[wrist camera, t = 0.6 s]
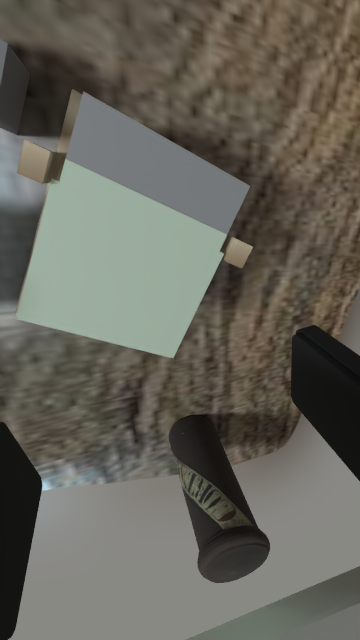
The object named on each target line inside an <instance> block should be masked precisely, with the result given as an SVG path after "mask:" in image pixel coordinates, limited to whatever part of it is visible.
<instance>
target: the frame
mask: <svg viewBox="0 0 360 640" xmlns="http://www.w3.org/2000/svg"><path fill="white" fill-rule="evenodd" d="M81 98H82V94H81V93H79V92H77V91H75V90H74V89H72V91H71V95H70V99H69V103H68V107H67V111H66V115H65V119H64V123H63V127H62V131H61V135H60V139H59V143H58V147H57V151H56V153H54V152H52V151H50V150H47V149H45V148H43V147H40V146H38V145H36V144H34V143H31V142H29V141H27V140H24V143H23V148H22V152H21V157H20V162H19V166H18V171H17V173H18V174H21V175H23V176H25V177H28V178H30V179H33V180H35V181H37V182H40V183H42V184H43V183H48V186H47V190H46V194H45V198H44V202H43V206H42V210H41V214H40V218H39V222H38V226H37V230H36V233H35V237H34V241H33V245H32V249H31V253H30V257H29V261H28V265H27V269H26V273H25V277H24V281H23V285H22V289H21V293H20V297H19V301H18V305H17V308H16V313H17V311H18V307H19V303H20V300H21V296H22V292H23V288H24V284H25V280H26V276H27V272H28V268H29V264H30V260H31V257H32V253H33V249H34V245H35V241H36V237H37V233H38V229H39V225H40V221H41V217H42V213H43V210H44V206H45V202H46V198H47V194H48V190H49V186H50V182H51V178H54V179H56V180H59V181H60V177H61V173H62V170H63V166H64V162H65V159H66V155H67V151H68V147H69V143H70V140H71V136H72V132H73V128H74V125H75V121H76V117H77V113H78V110H79V106H80V102H81ZM252 248H253V247H252V246H250V245H248V244H246V243H244V242H242V241H240V240H238V239H236V238H234V237H232V236H230V235H228V234H227V237H226V239H225V241H224V243H223V245H222V247H221V249H220V251H221V252H222V253H224V255H223V257H222V259H223V260H225V261H226V262H228V263H230V264H232V265H235V266H237V267H239V268H243V266H244V264H245V262H246V260H247V258H248V256H249V254H250V252H251V250H252Z"/></svg>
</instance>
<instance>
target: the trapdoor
mask: <svg viewBox="0 0 360 640" xmlns="http://www.w3.org/2000/svg"><path fill="white" fill-rule="evenodd" d="M249 188H250V186H249V185H247V184H246V183H244V182H242V181H240V180H239V179H237V178H235V177H233V176H232V175H230V174H228V173H226V172H224V171H223V170H221V169H219V168H217V167H216V166H214V165H212V164H210V163H209V162H207V161H205V160H203V159H202V158H200V157H198V156H196V155H195V154H193V153H191V152H189V151H188V150H186V149H184V148H182V147H180V146H179V145H177V144H175V143H173V142H172V141H170V140H168V139H166V138H165V137H163V136H161V135H159V134H158V133H156V132H154V131H152V130H151V129H149V128H147V127H145V126H143V125H142V124H140V123H138V122H136V121H135V120H133V119H131V118H129V117H128V116H126V115H124V114H122V113H121V112H119V111H117V110H115V109H114V108H112V107H110V106H108V105H106V104H105V103H103V102H101V101H99V100H98V99H96V98H94V97H92V96H91V95H89V94H87V93H85V92H84V91H83V95H82V98H81V102H80V106H79V110H78V113H77V117H76V121H75V125H74V128H73V132H72V136H71V140H70V143H69V147H68V151H67V155H66V159H65V162H64V166H63V170H62V173H61V177H60V181H59V180H56V179H54V178H51V182H50V186H49V190H48V194H47V198H46V202H45V206H44V210H43V213H42V217H41V221H40V225H39V229H38V233H37V237H36V241H35V245H34V249H33V253H32V257H31V260H30V264H29V268H28V272H27V276H26V280H25V284H24V288H23V292H22V296H21V300H20V303H19V307H18V311H17V315H16V319H18V320H22V321H26V322H30V323H34V324H38V325H42V326H46V327H50V328H54V329H58V330H62V331H66V332H70V333H74V334H78V335H82V336H86V337H90V338H94V339H98V340H102V341H106V342H110V343H114V344H118V345H122V346H126V347H130V348H134V349H138V350H142V351H146V352H150V353H154V354H158V355H162V356H166V357H170V358H173V357H174V355H175V353H176V351H177V349H178V347H179V345H180V343H181V341H182V339H183V337H184V335H185V333H186V331H187V329H188V327H189V325H190V323H191V321H192V319H193V316H194V314H195V312H196V310H197V308H198V306H199V304H200V302H201V300H202V298H203V296H204V294H205V292H206V290H207V288H208V286H209V284H210V282H211V280H212V278H213V276H214V273H215V271H216V269H217V267H218V265H219V263H220V261H221V259H222V257H223V255H224V253H222V252H221V251H220V249H221V247H222V245H223V243H224V241H225V239H226V237H227V234H228V232H229V230H230V228H231V226H232V224H233V221H234V219H235V217H236V215H237V213H238V211H239V209H240V207H241V205H242V203H243V201H244V199H245V196H246V194H247V192H248V190H249Z"/></svg>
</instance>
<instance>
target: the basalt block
mask: <svg viewBox="0 0 360 640" xmlns="http://www.w3.org/2000/svg"><path fill="white" fill-rule="evenodd" d="M29 79H30V73H29V72H28V71H27V69H26V68H25V66H24V65H23V64H22V62H21V61H20V60H19V58H18V57H17V55H16V54H15V53H14V51H13V50H12V48H11V47H10V46H9V44H8V43H6V42H5V41H3V40H1V39H0V128H2V129H5V130H7V131H9V132H11V133H14V134H16V135H18V131H19V127H20V122H21V117H22V112H23V107H24V103H25V98H26V93H27V88H28V83H29Z"/></svg>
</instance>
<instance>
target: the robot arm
mask: <svg viewBox="0 0 360 640" xmlns="http://www.w3.org/2000/svg"><path fill="white" fill-rule="evenodd" d="M291 397H292V400H293V402H294V404H295V405H296V406H297V408H298V409H299V410H300V411H301V412H302V413H303V415H304V416H305V417H306V418H307V419H308V421H309V422H310V423H311V424H312V425H313V426H314V428H315V429H316V430H317V431H318V432H319V434H320V435H321V436H322V437H323V438H324V439H325V441H326V442H327V443H328V444H329V445H330V447H331V448H332V449H333V450H334V451H335V452H336V454H337V455H338V456H339V457H340V458H341V460H342V461H343V462H344V463H345V464H346V465H347V467H348V468H349V469H350V470H351V471H352V473H353V474H354V475H355V476H356V477H357V478H358V480H359V481H360V356H359V355H358V354H356V353H355V352H353V351H352V350H350V349H349V348H348V347H346V346H345V345H343V344H342V343H340V342H339V341H338V340H336V339H335V338H333V337H332V336H331V335H329V334H328V333H326V332H325V331H323V330H322V329H321V328H319V327H318V326H316V325H312V326H309V327H305V328H302V329H299V330H297V331H296V335H294V336H293V337H292V365H291ZM41 491H42V480H41V477H40V475H39V474H38V472H37V471H36V469H35V468H34V466H33V465H32V463H31V462H30V460H29V459H28V457H27V456H26V454H25V453H24V451H23V450H22V448H21V447H20V445H19V444H18V442H17V441H16V439H15V438H14V436H13V435H12V433H11V432H10V430H9V429H8V427H7V426H6V424H5V423H3V422H0V640H8V639H9V638H11V636H12V635H13V633H14V631H15V627H16V623H17V617H18V612H19V607H20V602H21V596H22V591H23V586H24V581H25V575H26V570H27V564H28V559H29V554H30V549H31V543H32V538H33V533H34V528H35V522H36V517H37V511H38V507H39V501H40V496H41ZM187 640H360V566H359V567H357V568H354V569H352V570H350V571H347V572H345V573H342V574H340V575H338V576H336V577H333V578H331V579H329V580H326V581H323V582H321V583H319V584H316V585H314V586H311V587H309V588H307V589H305V590H302V591H300V592H297V593H295V594H292V595H290V596H288V597H285V598H283V599H281V600H278V601H276V602H274V603H271V604H269V605H266V606H264V607H262V608H260V609H257V610H255V611H252V612H250V613H248V614H245V615H243V616H241V617H238V618H236V619H234V620H231V621H229V622H226V623H224V624H222V625H220V626H217V627H215V628H212V629H210V630H208V631H205V632H203V633H201V634H198V635H196V636H194V637H191V638H189V639H187Z"/></svg>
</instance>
